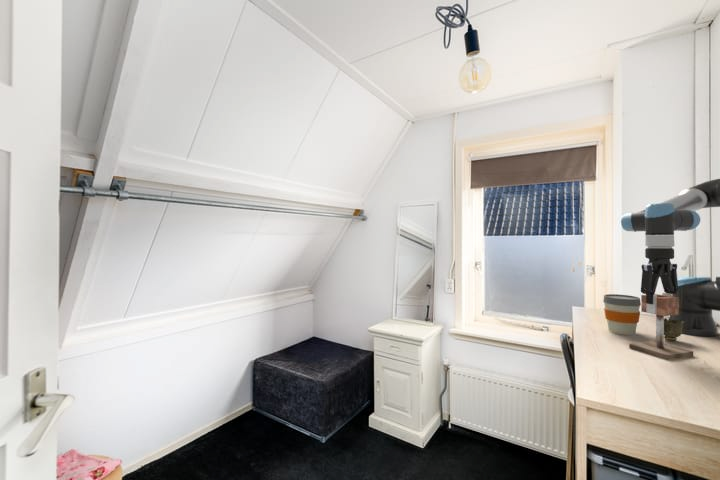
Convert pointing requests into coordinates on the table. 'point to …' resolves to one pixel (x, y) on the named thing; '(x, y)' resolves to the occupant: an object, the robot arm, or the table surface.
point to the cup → (672, 329)
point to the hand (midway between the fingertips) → (659, 312)
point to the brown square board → (661, 350)
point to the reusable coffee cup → (622, 313)
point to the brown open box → (663, 305)
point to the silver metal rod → (659, 331)
